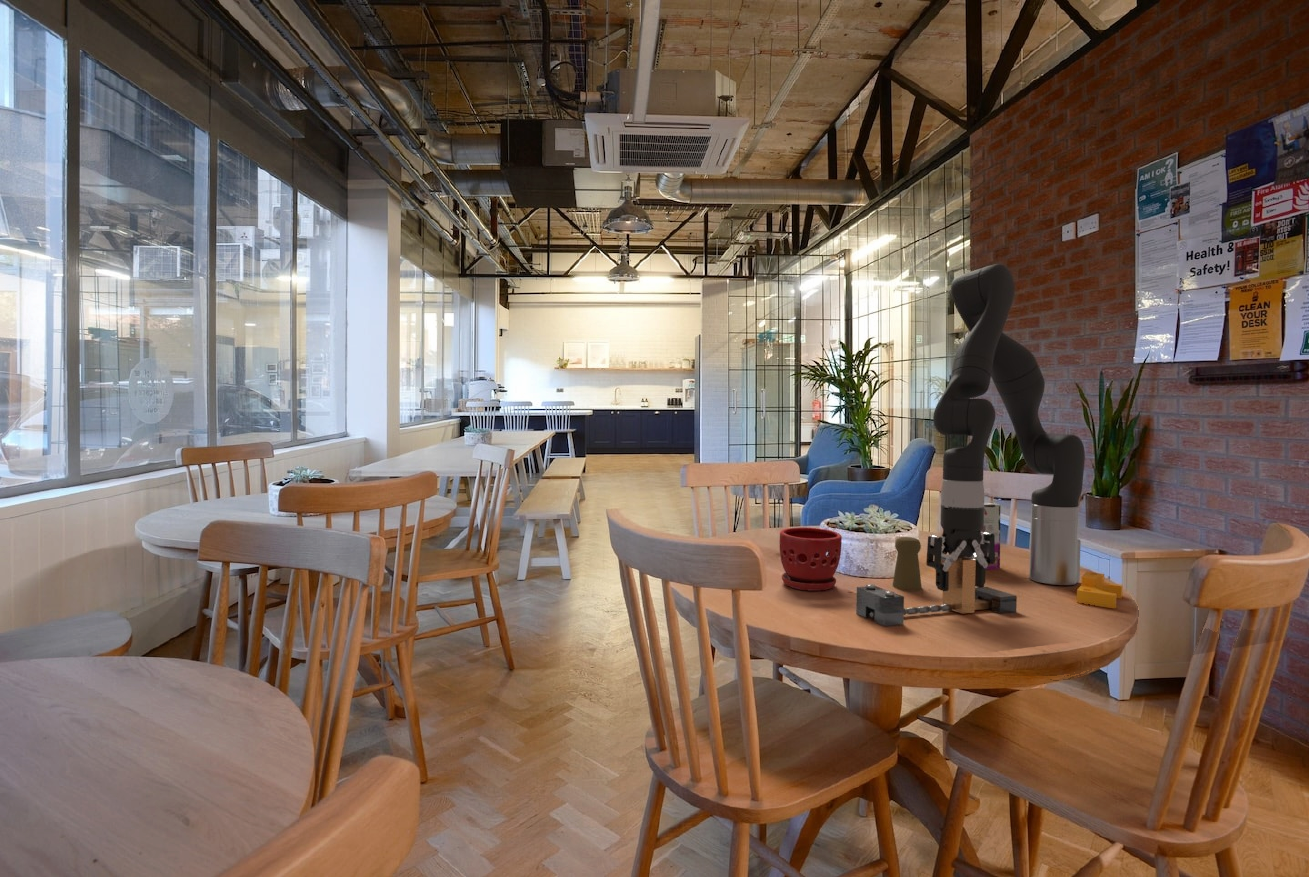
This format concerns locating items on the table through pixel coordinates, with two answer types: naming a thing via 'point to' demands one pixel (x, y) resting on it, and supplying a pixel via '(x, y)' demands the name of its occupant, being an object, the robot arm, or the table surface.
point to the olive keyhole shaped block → (907, 564)
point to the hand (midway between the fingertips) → (960, 588)
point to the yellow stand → (1098, 591)
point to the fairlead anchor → (880, 605)
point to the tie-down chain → (956, 591)
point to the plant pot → (810, 557)
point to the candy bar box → (993, 529)
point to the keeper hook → (997, 599)
